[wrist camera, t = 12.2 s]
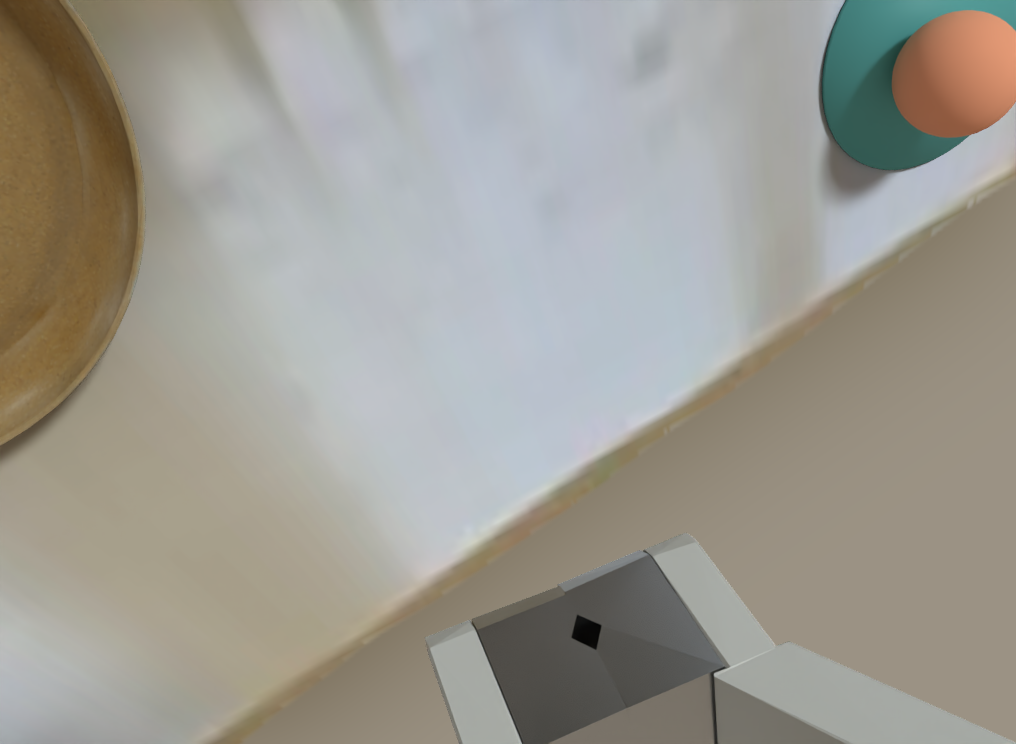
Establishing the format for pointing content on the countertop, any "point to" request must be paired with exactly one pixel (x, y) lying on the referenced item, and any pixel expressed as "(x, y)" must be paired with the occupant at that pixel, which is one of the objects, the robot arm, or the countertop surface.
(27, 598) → the countertop surface
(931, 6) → the disc
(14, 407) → the plant saucer
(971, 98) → the ball
